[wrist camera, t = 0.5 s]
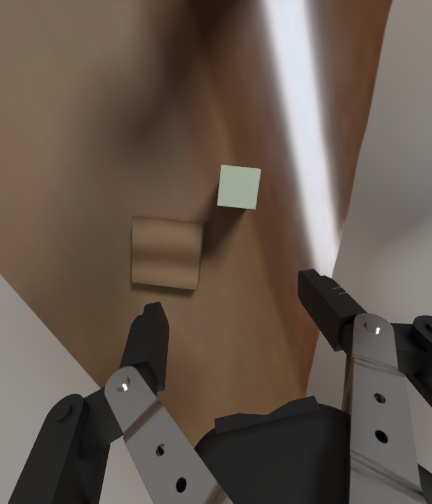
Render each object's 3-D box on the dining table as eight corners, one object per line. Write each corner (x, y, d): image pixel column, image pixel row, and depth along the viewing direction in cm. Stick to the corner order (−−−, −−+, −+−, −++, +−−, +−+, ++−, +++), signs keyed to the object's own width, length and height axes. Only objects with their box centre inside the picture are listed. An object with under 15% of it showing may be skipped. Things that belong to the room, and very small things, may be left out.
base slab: (140, 214, 36) (132, 216, 33) (204, 222, 36) (202, 224, 33) (138, 276, 39) (131, 282, 36) (199, 283, 39) (196, 290, 36)
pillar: (223, 174, 34) (221, 164, 24) (251, 177, 34) (261, 168, 24) (220, 203, 35) (217, 205, 25) (247, 206, 35) (255, 209, 25)
